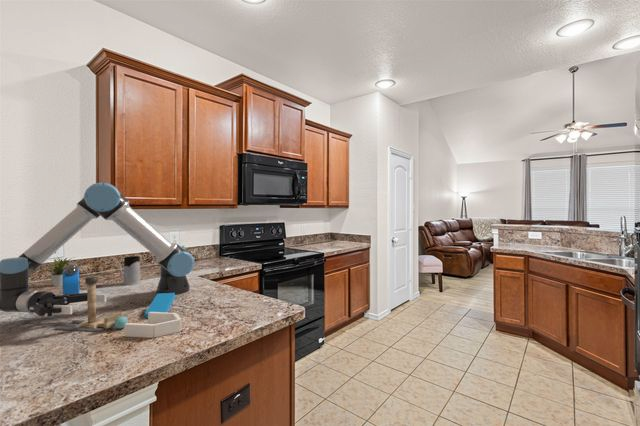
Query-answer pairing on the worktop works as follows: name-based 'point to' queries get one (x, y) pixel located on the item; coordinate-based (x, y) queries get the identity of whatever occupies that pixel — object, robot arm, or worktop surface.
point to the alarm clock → (71, 280)
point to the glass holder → (131, 270)
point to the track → (79, 327)
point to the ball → (120, 322)
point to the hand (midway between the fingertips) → (89, 303)
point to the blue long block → (161, 303)
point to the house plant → (58, 271)
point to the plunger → (92, 308)
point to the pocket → (155, 325)
